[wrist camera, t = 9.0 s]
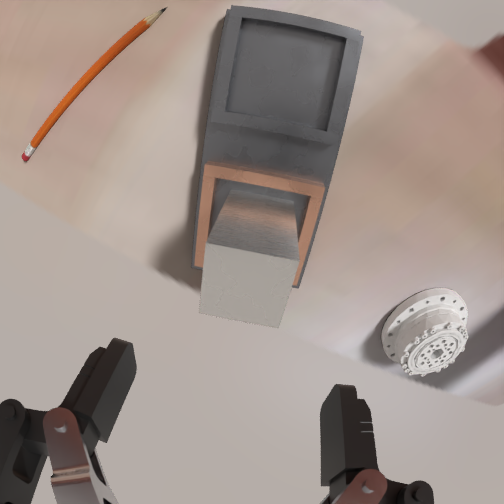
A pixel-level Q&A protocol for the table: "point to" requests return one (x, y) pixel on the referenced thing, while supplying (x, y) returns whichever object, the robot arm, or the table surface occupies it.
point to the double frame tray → (276, 116)
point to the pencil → (89, 79)
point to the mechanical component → (426, 331)
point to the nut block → (250, 260)
